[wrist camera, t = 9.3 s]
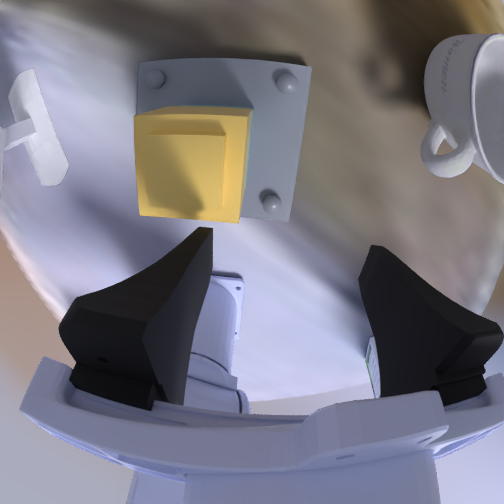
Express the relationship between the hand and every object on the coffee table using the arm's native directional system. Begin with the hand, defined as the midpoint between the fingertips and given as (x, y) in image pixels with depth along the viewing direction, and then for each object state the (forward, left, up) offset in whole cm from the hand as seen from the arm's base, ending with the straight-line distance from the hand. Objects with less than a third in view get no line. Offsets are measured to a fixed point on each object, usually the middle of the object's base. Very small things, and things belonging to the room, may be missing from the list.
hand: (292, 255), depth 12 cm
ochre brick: (+3, +5, -6) cm, 9 cm away
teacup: (+10, -13, -11) cm, 19 cm away
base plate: (+3, +5, -10) cm, 12 cm away
